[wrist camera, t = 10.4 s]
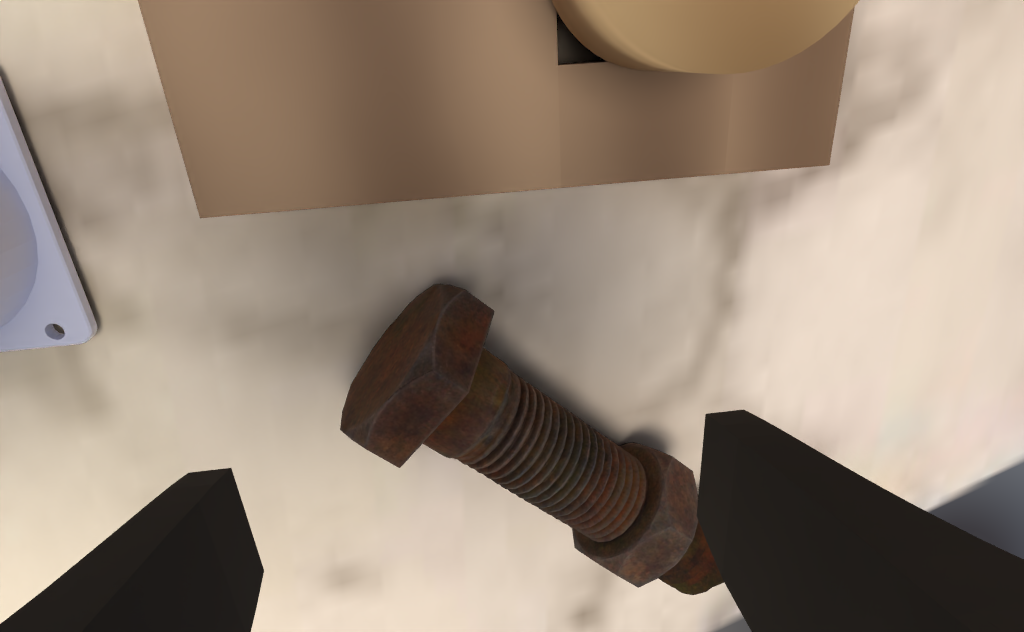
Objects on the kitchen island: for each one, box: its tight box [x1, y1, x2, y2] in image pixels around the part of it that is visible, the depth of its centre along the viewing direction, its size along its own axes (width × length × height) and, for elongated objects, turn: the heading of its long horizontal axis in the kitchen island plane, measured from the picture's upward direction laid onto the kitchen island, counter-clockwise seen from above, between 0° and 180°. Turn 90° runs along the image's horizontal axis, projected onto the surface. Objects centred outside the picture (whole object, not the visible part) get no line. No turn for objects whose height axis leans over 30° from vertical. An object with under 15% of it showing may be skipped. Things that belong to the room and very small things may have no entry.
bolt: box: [340, 284, 724, 595], centre depth 20 cm, size 6×5×15 cm
